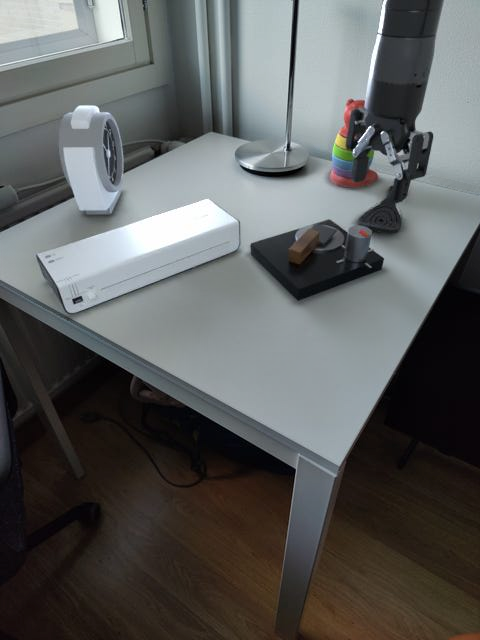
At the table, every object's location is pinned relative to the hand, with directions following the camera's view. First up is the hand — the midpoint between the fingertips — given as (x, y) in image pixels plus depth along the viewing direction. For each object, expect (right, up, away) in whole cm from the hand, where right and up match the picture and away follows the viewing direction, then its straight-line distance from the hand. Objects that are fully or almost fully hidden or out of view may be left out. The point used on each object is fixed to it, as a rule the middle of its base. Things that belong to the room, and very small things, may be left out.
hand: (376, 190), depth 70 cm
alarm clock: (-51, +7, +33) cm, 62 cm away
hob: (-7, -9, +15) cm, 19 cm away
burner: (-6, -4, +16) cm, 18 cm away
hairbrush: (+10, +3, +28) cm, 30 cm away
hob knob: (0, -8, +11) cm, 14 cm away
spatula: (-8, -6, +13) cm, 17 cm away
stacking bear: (+6, +14, +41) cm, 43 cm away
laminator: (-38, -10, +14) cm, 42 cm away
